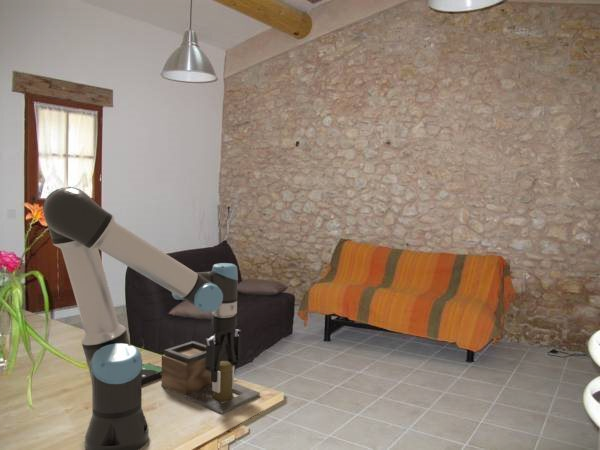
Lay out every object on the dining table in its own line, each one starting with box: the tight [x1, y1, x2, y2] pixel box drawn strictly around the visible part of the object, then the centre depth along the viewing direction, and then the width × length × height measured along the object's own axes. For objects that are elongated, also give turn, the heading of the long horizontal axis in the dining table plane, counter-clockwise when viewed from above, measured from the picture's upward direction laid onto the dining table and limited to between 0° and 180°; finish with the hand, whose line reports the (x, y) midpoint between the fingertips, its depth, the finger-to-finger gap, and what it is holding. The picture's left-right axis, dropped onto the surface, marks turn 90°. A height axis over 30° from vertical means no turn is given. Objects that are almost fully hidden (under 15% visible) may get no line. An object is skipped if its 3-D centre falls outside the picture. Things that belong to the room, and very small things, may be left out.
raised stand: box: [161, 340, 212, 397], centre depth 159 cm, size 14×12×12 cm
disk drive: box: [142, 362, 162, 386], centre depth 163 cm, size 10×3×15 cm
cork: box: [212, 360, 234, 402], centre depth 150 cm, size 6×6×11 cm
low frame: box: [185, 382, 261, 415], centre depth 151 cm, size 16×16×1 cm
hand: (223, 388), depth 151 cm, fingers closed on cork, 5 cm apart
